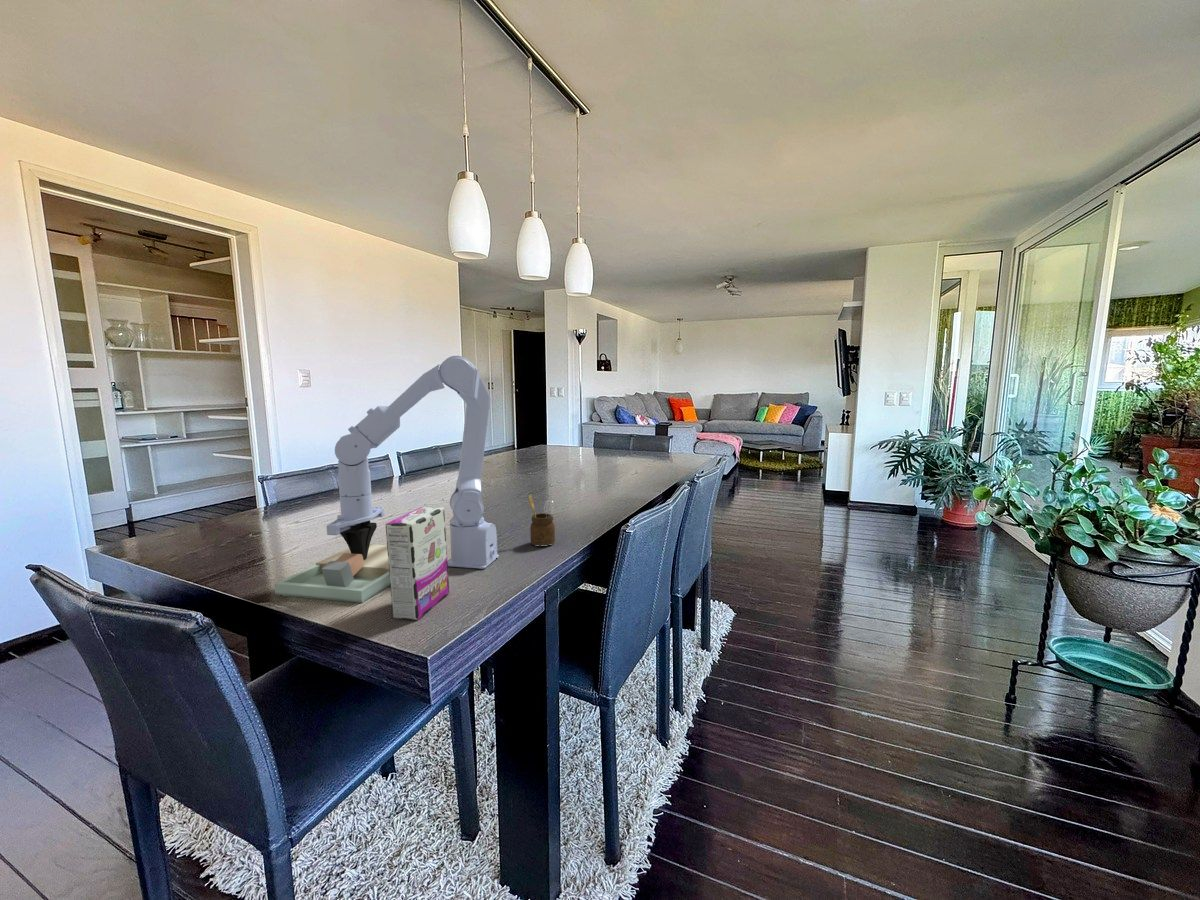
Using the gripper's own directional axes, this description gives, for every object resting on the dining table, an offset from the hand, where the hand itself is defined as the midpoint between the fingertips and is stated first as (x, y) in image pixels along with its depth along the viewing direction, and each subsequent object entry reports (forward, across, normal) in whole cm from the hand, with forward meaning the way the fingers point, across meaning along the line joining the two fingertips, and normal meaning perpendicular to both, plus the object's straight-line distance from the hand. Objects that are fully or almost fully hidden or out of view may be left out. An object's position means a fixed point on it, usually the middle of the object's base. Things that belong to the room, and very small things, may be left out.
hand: (360, 559), depth 100 cm
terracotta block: (+1, +3, 0) cm, 3 cm away
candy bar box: (+3, +11, +20) cm, 23 cm away
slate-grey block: (0, +5, 0) cm, 5 cm away
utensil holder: (+3, -26, +30) cm, 40 cm away
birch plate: (+3, -5, 0) cm, 6 cm away
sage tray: (+3, +7, 0) cm, 7 cm away
